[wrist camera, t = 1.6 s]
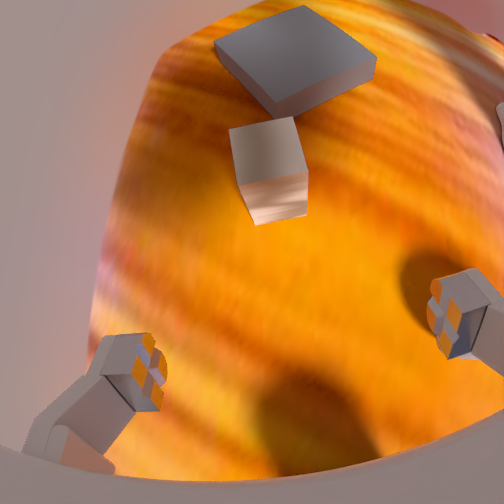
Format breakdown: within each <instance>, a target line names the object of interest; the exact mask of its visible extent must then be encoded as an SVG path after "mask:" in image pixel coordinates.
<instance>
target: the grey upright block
mask: <svg viewBox="0 0 504 504" xmlns="http://www.w3.org/2000/svg"><path fill="white" fill-rule="evenodd" d="M229 136H230V142H231V148H232V154H233V160H234V167H235V173H236V179H237V185H238V188H239V190H240V192H241V194H242V197H243V199H244V201H245V203H246V206H247V208H248V210H249V212H250V215H251V217H252V219H253V221H254V224H255V225H260V224H265V223H270V222H275V221H280V220H285V219H291V218H296V217H301V216H306V215H307V198H308V168H307V164H306V161H305V157H304V154H303V150H302V147H301V143H300V140H299V136H298V133H297V129H296V126H295V123H294V119H293V116H292V117H286V118H281V119H275V120H270V121H265V122H260V123H255V124H251V125H246V126H241V127H237V128H233V129H229Z"/></svg>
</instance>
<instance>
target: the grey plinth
mask: <svg viewBox="0 0 504 504" xmlns="http://www.w3.org/2000/svg"><path fill="white" fill-rule="evenodd" d="M213 42H214V45H215V48H216V51H217V54H218V57H219V60H220V63H221V64H222V65H223V66H224V67H225V68H226V69H227V70H228V71H229V72H230V73H231V74H232V75H233V76H234V77H235V78H236V79H237V80H238V81H239V82H240V83H241V84H242V85H243V86H244V87H245V88H246V89H247V90H248V91H249V92H250V93H251V95H252V96H253V97H254V98H255V99H256V100H257V101H258V102H259V103H260V104H261V105H262V107H263V108H264V109H265V110H266V111H267V112H268V113H269V114H270V115H271V117H272V118H273V119H274V120H275V119H281V118H286V117H292V116H293V118H294V117H296V116H298V115H300V114H302V113H304V112H306V111H308V110H310V109H312V108H314V107H315V106H317V105H319V104H321V103H323V102H325V101H327V100H329V99H332V98H334V97H336V96H338V95H340V94H342V93H344V92H346V91H348V90H350V89H352V88H354V87H357V86H359V85H361V84H363V83H365V82H368V81H370V80H372V79H373V75H374V70H375V65H376V61H377V57H376V56H375V55H374V54H373V53H371V52H370V51H369V50H368V49H366V48H365V47H364V46H363V45H361V44H360V43H359V42H357V41H356V40H355V39H353V38H352V37H351V36H349V35H348V34H347V33H345V32H344V31H342V30H341V29H340V28H338V27H337V26H335V25H334V24H332V23H331V22H329V21H328V20H326V19H325V18H323V17H322V16H320V15H319V14H317V13H316V12H314V11H312V10H311V9H309V8H308V7H306V6H304V5H303V6H300V7H297V8H294V9H291V10H288V11H285V12H282V13H279V14H277V15H274V16H271V17H269V18H266V19H263V20H261V21H258V22H256V23H253V24H251V25H249V26H246V27H244V28H241V29H239V30H237V31H235V32H232V33H230V34H228V35H226V36H224V37H222V38H219V39H217V40H215V41H213Z"/></svg>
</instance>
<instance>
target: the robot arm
mask: <svg viewBox="0 0 504 504" xmlns="http://www.w3.org/2000/svg"><path fill="white" fill-rule="evenodd" d="M496 111H497V114H498V117H499V119H500V122H501V125H502V140H503V146H504V102H501V103H499V104H498V105H497V106H496ZM429 291H430V293H431V294H432V297H431V299H430V300H429V301H428V303H427V309H426V315H427V321H428V324H429V327H430V329H431V331H432V333H434V334H436V335H437V336H439V337H440V340H439V345H440V347H441V349H442V351H443V352H444V354H445V356H446V358H447V360H449V359H452V358H455V357H458V356H461V355H464V354H467V353H469V352H471V354H472V355H474V356H475V357H477V358H478V359H480V360H481V361H482V362H484V363H485V364H487V365H488V366H489V367H491V368H492V369H494V370H495V371H496V372H498V373H499V374H501V375H502V376H503V377H504V298H503V297H502V296H501V295H500V294H499V292H498V291H497V290H496V289H495V288H494V287H493V285H492V284H491V283H490V282H489V281H488V280H487V279H486V278H485V276H484V275H483V274H482V273H481V272H480V271H479V270H478V269H477V268H474V267H473V268H470V269H467V270H464V271H461V272H458V273H454V274H451V275H447V276H444V277H440V278H436V279H433V280H432V282H431V284H430V290H429ZM155 342H156V341H155V340H154V338H153V337H152V335H151V334H150V333H147V332H146V333H134V334H120V335H111V336H105V337H103V338H102V339H101V341H100V344H99V346H98V348H97V351H96V353H95V355H94V358H93V360H92V362H91V365H90V367H89V369H88V372H87V374H86V376H81V377H80V378H79V379H78V380H77V381H76V382H75V383H74V384H72V385H71V386H70V387H69V388H68V389H67V390H66V391H65V392H63V393H62V394H61V395H60V396H59V397H58V398H57V399H56V400H55V401H54V402H53V403H51V404H50V405H49V406H48V407H47V408H46V409H45V410H44V411H43V412H41V413H40V414H39V415H38V416H37V417H36V418H35V419H34V421H33V423H32V426H31V428H30V431H29V433H28V436H27V439H26V441H25V444H24V447H23V449H22V452H18V451H15V450H12V449H9V448H7V447H4V446H1V445H0V504H504V409H503V410H501V411H499V412H497V413H495V414H493V415H491V416H489V417H487V418H485V419H483V420H481V421H479V422H477V423H475V424H472V425H470V426H468V427H466V428H463V429H461V430H459V431H457V432H454V433H452V434H449V435H447V436H444V437H442V438H439V439H437V440H434V441H431V442H429V443H426V444H423V445H420V446H418V447H415V448H412V449H409V450H406V451H402V452H399V453H396V454H393V455H389V456H386V457H382V458H379V459H375V460H371V461H367V462H363V463H359V464H355V465H351V466H346V467H341V468H337V469H332V470H326V471H321V472H315V473H309V474H302V475H295V476H287V477H279V478H269V479H257V480H242V481H173V480H158V479H147V478H137V477H129V476H121V475H114V472H115V466H114V464H113V463H112V462H110V461H109V460H108V459H106V458H105V457H104V456H103V455H104V454H105V452H106V451H107V450H108V448H109V447H110V446H111V445H112V443H113V442H114V441H115V439H116V438H117V437H118V436H119V434H120V433H121V432H122V430H123V429H124V428H125V426H126V425H127V424H128V423H129V421H130V420H131V419H132V417H133V416H134V415H135V412H154V411H160V409H161V404H162V399H163V394H164V393H163V391H162V390H161V388H160V387H161V386H162V385H163V384H164V383H165V382H166V379H167V374H168V373H167V363H166V360H165V357H164V355H163V353H162V352H161V351H160V350H158V349H156V348H155V347H154V345H155Z"/></svg>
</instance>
